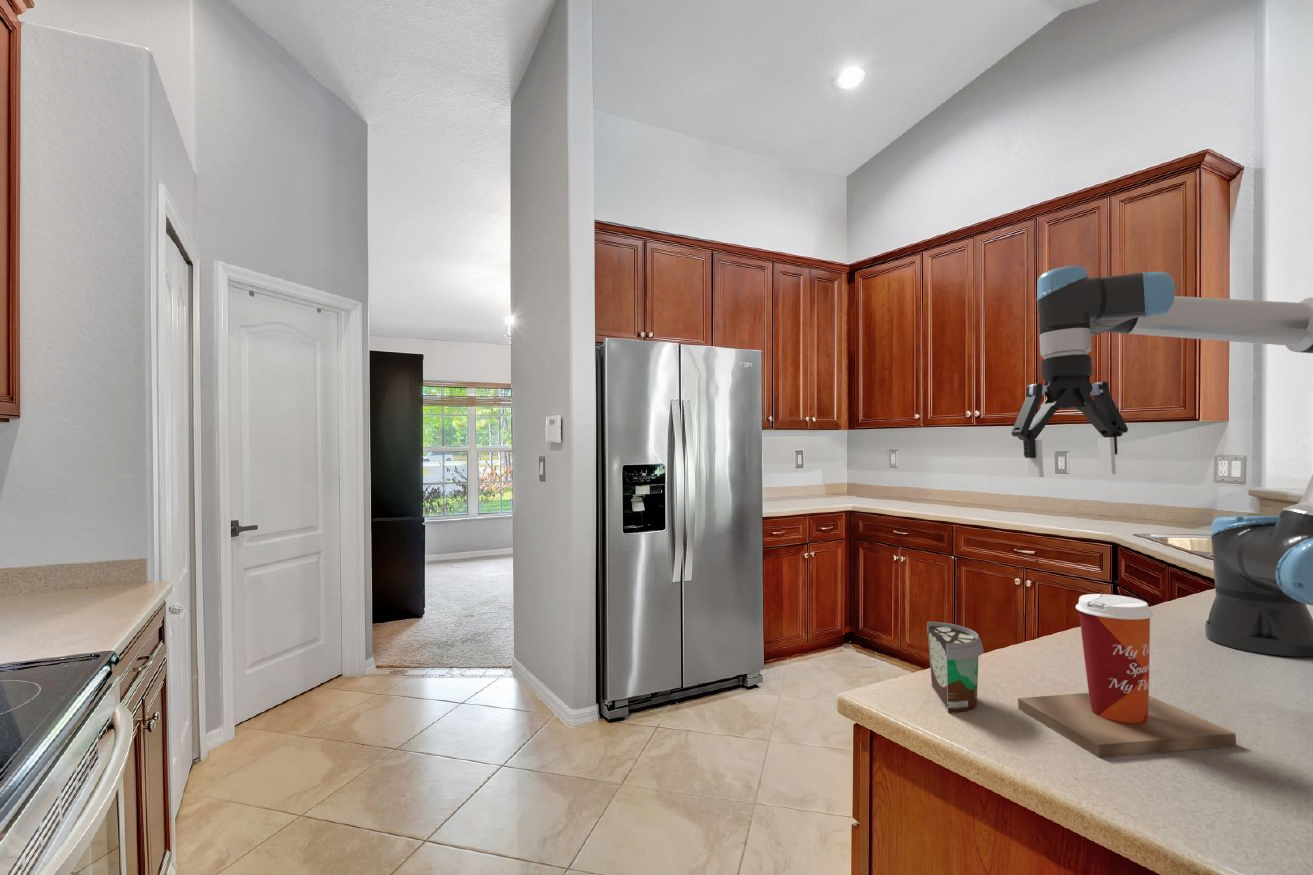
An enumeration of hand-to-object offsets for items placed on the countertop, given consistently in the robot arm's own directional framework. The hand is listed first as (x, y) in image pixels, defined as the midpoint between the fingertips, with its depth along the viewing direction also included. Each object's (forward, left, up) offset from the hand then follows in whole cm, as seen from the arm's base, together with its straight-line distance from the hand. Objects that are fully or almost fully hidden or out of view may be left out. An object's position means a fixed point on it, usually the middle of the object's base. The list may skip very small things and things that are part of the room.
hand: (1072, 475), depth 107 cm
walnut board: (+16, +25, -32) cm, 43 cm away
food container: (+31, +14, -32) cm, 47 cm away
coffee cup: (+16, +25, -30) cm, 42 cm away
